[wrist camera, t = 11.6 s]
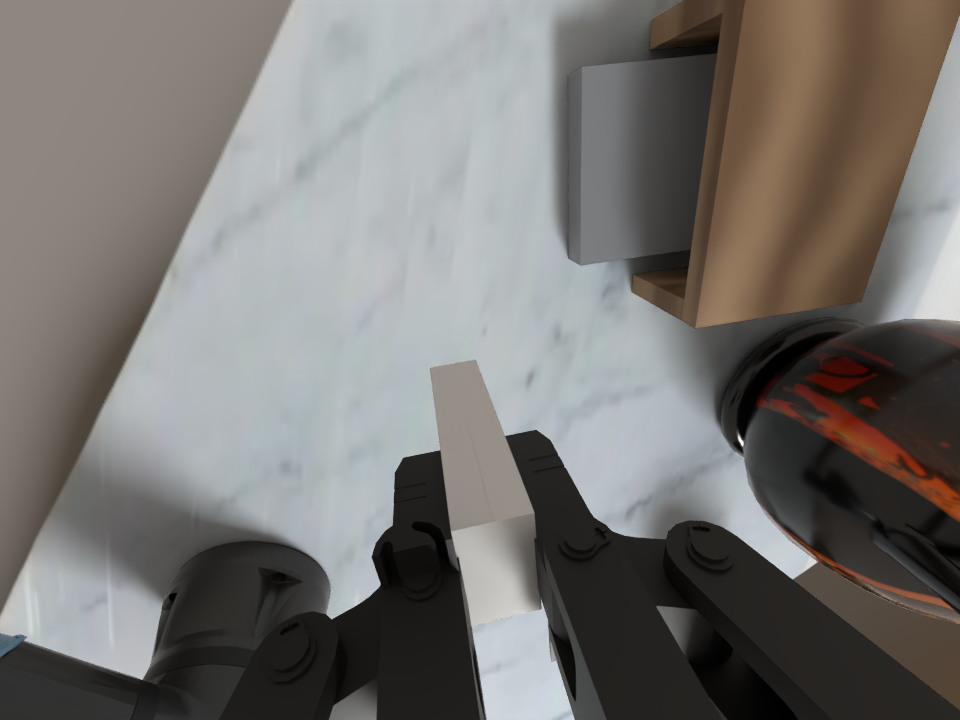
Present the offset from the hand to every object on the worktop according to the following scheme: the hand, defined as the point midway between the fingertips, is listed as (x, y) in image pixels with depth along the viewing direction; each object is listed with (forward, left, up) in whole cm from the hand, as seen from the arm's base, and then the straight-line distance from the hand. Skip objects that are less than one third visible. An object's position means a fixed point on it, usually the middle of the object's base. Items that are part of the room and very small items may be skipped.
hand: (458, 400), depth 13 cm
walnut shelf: (+22, +5, -19) cm, 30 cm away
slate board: (+19, +5, -20) cm, 28 cm away
